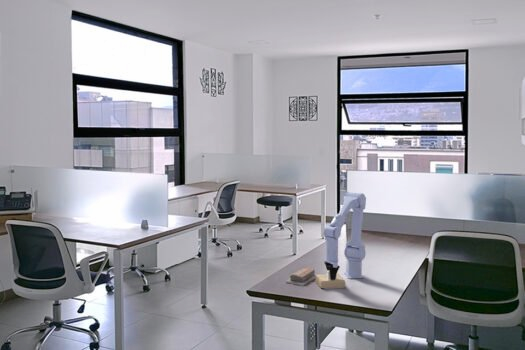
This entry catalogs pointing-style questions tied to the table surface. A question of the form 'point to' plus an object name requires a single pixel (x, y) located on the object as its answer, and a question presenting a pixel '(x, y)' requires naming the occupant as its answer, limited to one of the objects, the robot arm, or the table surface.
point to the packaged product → (302, 276)
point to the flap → (328, 279)
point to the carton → (329, 284)
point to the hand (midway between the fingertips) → (331, 278)
